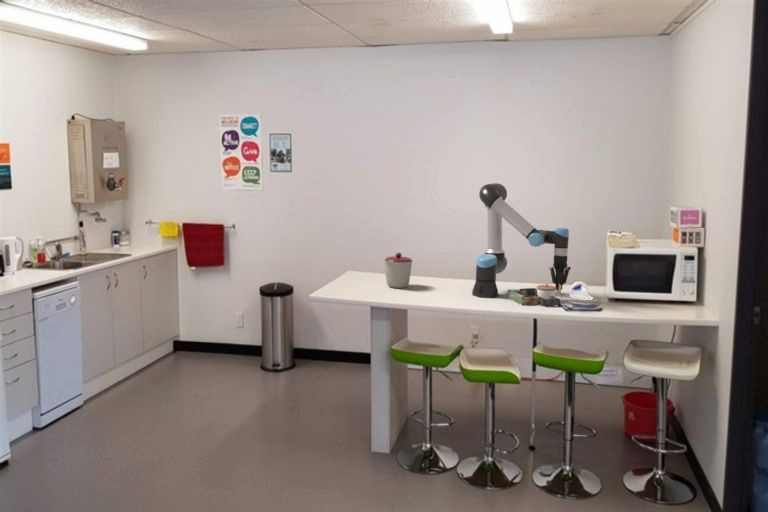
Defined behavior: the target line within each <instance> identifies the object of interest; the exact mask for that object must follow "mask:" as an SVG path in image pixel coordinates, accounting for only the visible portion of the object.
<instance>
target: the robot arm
mask: <svg viewBox="0 0 768 512" xmlns="http://www.w3.org/2000/svg"><path fill="white" fill-rule="evenodd" d="M507 198H508V191H507V188H506V187H505V186H504V184H501V183H496V182H493V183H486V184H484V185H483V186H482V187H481V188H480V189H479V200H480V201H481V202H482V203H483V205H484V207H485V208H486V210H487V248H486V250H485V251H484V254H479V255H478V256H477V257H476V262H475V263H476V265H475V266H476V268H475V283H474V285H473V288H472V291H471V295H472V296H475V297H476V298H477V297H479V298H485V297H488V298H490V297H491V298H496V297H499V291H498V285H497V282H496V281H497V274H500V273H502V272H504V270H506V268H507V266H508V260H507V257H506V253H505V251H504V249H503V219H504V221H506V222H507V223H508V224H509V225H510V226H512V227H513V228H514V229H515V230H516V231H517V232H519V234H521V235H522V236H523V237H524V238H525V239H526V240H527V241H528V243H529V244H530V246H532V247H535V248H537V247H541V246H542V245H543V246H544V245H545V244H547V245H548V244H549V245H554V249H553V254H554V255H553V264H552V266H549V267H548V269H549V271H550V275H551V282H552V284H555V285H554V286H555V287H556V293H555V296H557V297H561V296H562V290H563V285H564V284H566V283H567V281H568V280H567V279H568V276H569V273H570V270H572V269H571V267H572V266H569V265H568V254H569V253H568V252H569V251H568V250H569V239H570V238H569V237H570V235H569V234H570V231H569V228H566V227H556V228H555V230H547V229H546V230H545V229H537V228H536V227H535V226H534V225H532V224H531V223H530V222H529V221H528V220H526V218H524V217H523V215H521V214H520V213H519V212H518V211H516V209H514V208H513V207H512V206H511V205H509V203H507V202H506V201H505V200H506V199H507Z"/></svg>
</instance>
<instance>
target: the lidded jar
mask: <svg viewBox="0 0 768 512" xmlns="http://www.w3.org/2000/svg"><path fill="white" fill-rule="evenodd" d="M536 289H537V295H538V297H542V298H544V299H550V296H554V297H556V287H555V285H549V284H547V283H545V284H540V285H537V286H536Z"/></svg>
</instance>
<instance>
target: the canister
mask: <svg viewBox="0 0 768 512" xmlns="http://www.w3.org/2000/svg"><path fill="white" fill-rule="evenodd" d="M383 262H384V270H385V271H384V272H385V280H386V284H387V285H386V286H388V287H390V288H392V289H394V288H395V289H404V288H407V287H408V286H409V285H410V279H411V274H412V273H411V272H412V267H413V265H412V264H413V262H414V260H413V259H411V258H410V257H407V256H402V253H400V252H396V253H395V255H393V256H388V257H386V258H384V259H383Z"/></svg>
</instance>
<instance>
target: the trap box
mask: <svg viewBox="0 0 768 512" xmlns="http://www.w3.org/2000/svg"><path fill="white" fill-rule="evenodd" d="M508 298H509V300H510V299H511V300H510V301H512V300H513V302H514V301H515V303H516V302H517V304H518V303H519V305H520V304H521V306H526V305H525V304H535V305H539V304H540V305H539V306H541V305H542V306H541V307H543V306H551V307H556V306H555V305H559V306H560V302H561V300H560V298H559V297H556V296H555V297H554V296H550V299H544V298H542V297H538V295H537V288H535V287H530V288H529V287H528V288H519V290H515V291H514V290H512V289H508V290H507V299H508Z"/></svg>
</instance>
